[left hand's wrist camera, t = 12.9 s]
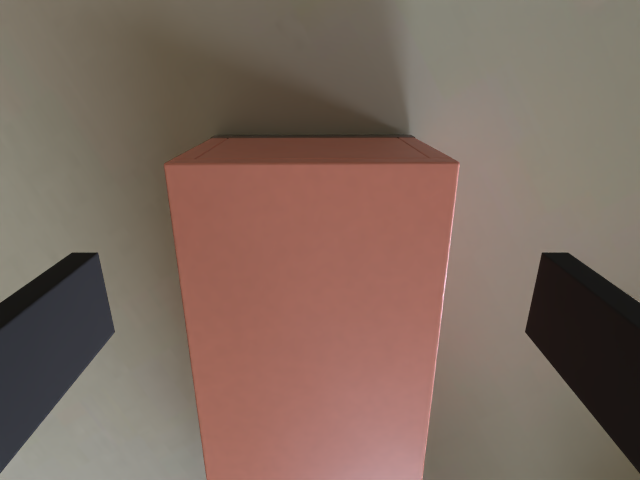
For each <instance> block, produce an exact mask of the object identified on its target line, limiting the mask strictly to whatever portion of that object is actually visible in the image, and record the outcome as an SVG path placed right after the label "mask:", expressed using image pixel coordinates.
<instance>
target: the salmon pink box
mask: <svg viewBox="0 0 640 480" xmlns="http://www.w3.org/2000/svg"><path fill="white" fill-rule="evenodd" d="M459 165H460V163H459V162H458V161H456V160H454V159H452V158H451V157H449V156H447V155H445V154H443V153H441V152H440V151H438V150H436V149H434V148H432V147H430V146H429V145H427V144H425V143H423V142H421V141H419V140H418V139H416V138H415V137H413V136H412V135H222V136H213V137H211V139H209V140H207V141H205V142H203V143H202V144H200V145H198V146H196V147H194V148H192V149H190V150H188V151H186V152H185V153H183V154H181V155H179V156H177V157H175V158H173V159H172V160H170V161H168V162H166V163H164V169H165V177H166V184H167V191H168V199H169V206H170V213H171V221H172V228H173V236H174V243H175V250H176V258H177V265H178V272H179V280H180V287H181V294H182V302H183V309H184V316H185V324H186V331H187V338H188V346H189V353H190V360H191V368H192V375H193V382H194V390H195V397H196V404H197V412H198V419H199V426H200V434H201V441H202V448H203V456H204V463H205V471H206V478H207V480H422V478H423V469H424V461H425V452H426V444H427V435H428V427H429V419H430V410H431V402H432V393H433V385H434V376H435V368H436V360H437V351H438V343H439V334H440V326H441V317H442V309H443V300H444V292H445V284H446V275H447V267H448V258H449V250H450V241H451V233H452V224H453V216H454V208H455V199H456V191H457V182H458V174H459Z"/></svg>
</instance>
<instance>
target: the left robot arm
mask: <svg viewBox="0 0 640 480" xmlns="http://www.w3.org/2000/svg"><path fill="white" fill-rule="evenodd" d="M114 332H115V330H114V326H113V321H112V316H111V311H110V307H109V302H108V297H107V293H106V288H105V283H104V279H103V274H102V269H101V264H100V260H99V255H98V253H71V254H69V255H68V256H67V257H65V258H64V259H62V260H61V261H59V262H58V263H57V264H55V265H54V266H52V267H51V268H49V269H48V270H47V271H45V272H44V273H42V274H41V275H39V276H38V277H37V278H35V279H34V280H32V281H31V282H29V283H28V284H27V285H25V286H24V287H22V288H21V289H19V290H18V291H17V292H15V293H14V294H12V295H11V296H9V297H8V298H7V299H5V300H4V301H2V302H1V303H0V473H1V472H2V470H3V469H4V468H5V467H6V466H7V464H8V463H9V462H10V461H11V459H12V458H13V457H14V456H15V454H16V453H17V452H18V451H19V450H20V448H21V447H22V446H23V445H24V443H25V442H26V441H27V440H28V438H29V437H30V436H31V435H32V434H33V432H34V431H35V430H36V429H37V427H38V426H39V425H40V424H41V422H42V421H43V420H44V419H45V417H46V416H47V415H48V414H49V413H50V411H51V410H52V409H53V408H54V406H55V405H56V404H57V403H58V401H59V400H60V399H61V398H62V397H63V395H64V394H65V393H66V392H67V390H68V389H69V388H70V387H71V385H72V384H73V383H74V382H75V381H76V379H77V378H78V377H79V376H80V374H81V373H82V372H83V371H84V369H85V368H86V367H87V366H88V364H89V363H90V362H91V361H92V360H93V358H94V357H95V356H96V355H97V353H98V352H99V351H100V350H101V348H102V347H103V346H104V345H105V344H106V342H107V341H108V340H109V339H110V337H111V336H112V335H113V334H114ZM525 332H526V334H527V335H528V336H529V337H530V339H531V340H532V341H533V342H534V344H535V345H536V346H537V347H538V348H539V350H540V351H541V352H542V353H543V355H544V356H545V357H546V358H547V360H548V361H549V362H550V363H551V364H552V366H553V367H554V368H555V369H556V371H557V372H558V373H559V374H560V376H561V377H562V378H563V379H564V381H565V382H566V383H567V384H568V385H569V387H570V388H571V389H572V390H573V392H574V393H575V394H576V395H577V397H578V398H579V399H580V400H581V401H582V403H583V404H584V405H585V406H586V408H587V409H588V410H589V411H590V413H591V414H592V415H593V416H594V417H595V419H596V420H597V421H598V422H599V424H600V425H601V426H602V427H603V429H604V430H605V431H606V432H607V434H608V435H609V436H610V437H611V438H612V440H613V441H614V442H615V443H616V445H617V446H618V447H619V448H620V450H621V451H622V452H623V453H624V454H625V456H626V457H627V458H628V459H629V461H630V462H631V463H632V464H633V466H634V467H635V468H636V469H637V470H638V472H639V473H640V303H639V302H638V301H636V300H635V299H633V298H632V297H631V296H629V295H628V294H626V293H625V292H623V291H622V290H621V289H619V288H618V287H616V286H615V285H613V284H612V283H611V282H609V281H608V280H606V279H605V278H603V277H602V276H601V275H599V274H598V273H596V272H595V271H593V270H592V269H591V268H589V267H588V266H586V265H585V264H583V263H582V262H581V261H579V260H578V259H576V258H575V257H573V256H572V255H571V254H569V253H542V255H541V260H540V264H539V269H538V274H537V279H536V283H535V288H534V293H533V297H532V302H531V307H530V311H529V316H528V321H527V326H526V330H525Z"/></svg>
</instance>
